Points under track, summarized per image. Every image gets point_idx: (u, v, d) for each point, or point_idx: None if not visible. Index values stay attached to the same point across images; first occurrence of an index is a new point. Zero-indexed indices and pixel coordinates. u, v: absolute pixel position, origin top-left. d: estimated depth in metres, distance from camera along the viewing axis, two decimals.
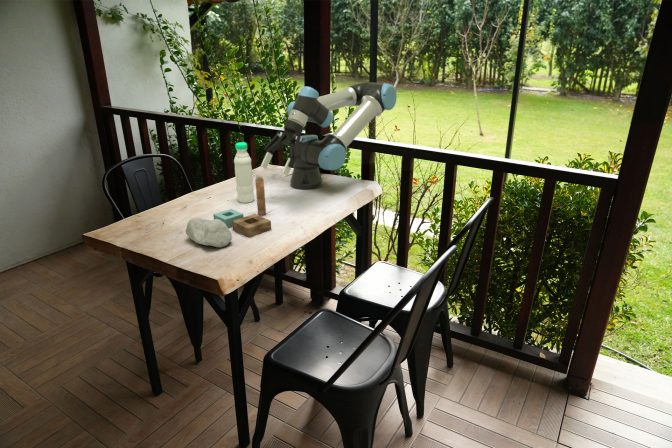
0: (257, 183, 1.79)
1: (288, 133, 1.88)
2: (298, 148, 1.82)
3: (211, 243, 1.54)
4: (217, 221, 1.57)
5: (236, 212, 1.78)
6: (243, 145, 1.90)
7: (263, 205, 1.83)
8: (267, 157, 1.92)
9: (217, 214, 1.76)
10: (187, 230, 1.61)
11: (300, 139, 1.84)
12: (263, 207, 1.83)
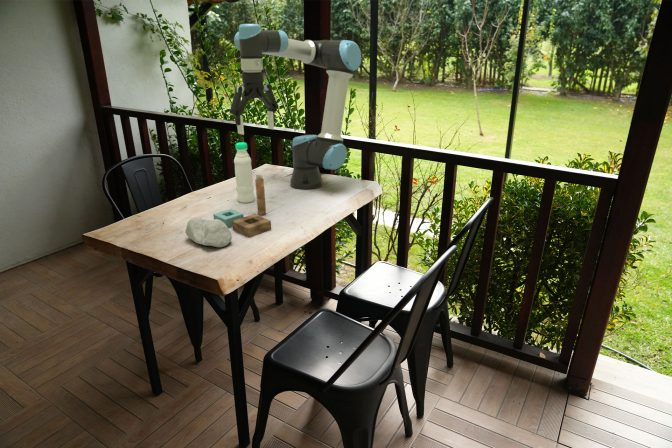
0: (257, 183, 1.79)
1: (254, 86, 1.66)
2: None
3: (211, 243, 1.54)
4: (217, 221, 1.57)
5: (236, 212, 1.78)
6: (243, 145, 1.90)
7: (263, 205, 1.83)
8: None
9: (217, 214, 1.76)
10: (187, 230, 1.61)
11: None
12: (263, 207, 1.83)
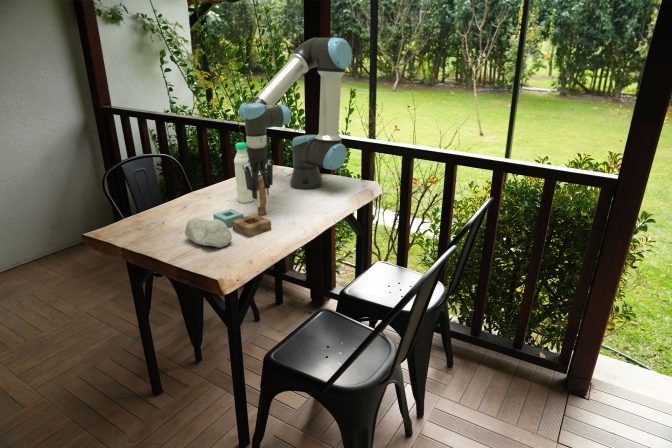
0: None
1: (259, 159, 1.76)
2: None
3: (212, 243, 1.54)
4: (217, 221, 1.56)
5: (236, 212, 1.78)
6: (243, 145, 1.90)
7: (263, 205, 1.83)
8: None
9: (217, 214, 1.76)
10: (186, 231, 1.60)
11: None
12: (263, 207, 1.83)
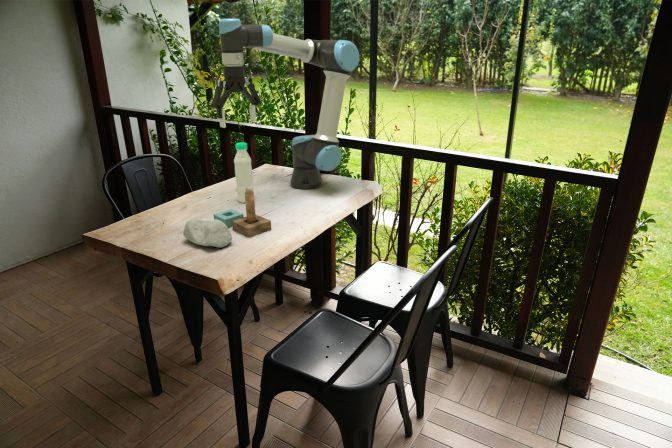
0: (246, 196, 1.65)
1: (236, 80, 1.69)
2: None
3: (213, 243, 1.53)
4: (217, 221, 1.56)
5: (236, 212, 1.78)
6: (243, 145, 1.90)
7: (253, 220, 1.69)
8: None
9: (217, 214, 1.76)
10: (185, 232, 1.59)
11: None
12: (253, 222, 1.69)
